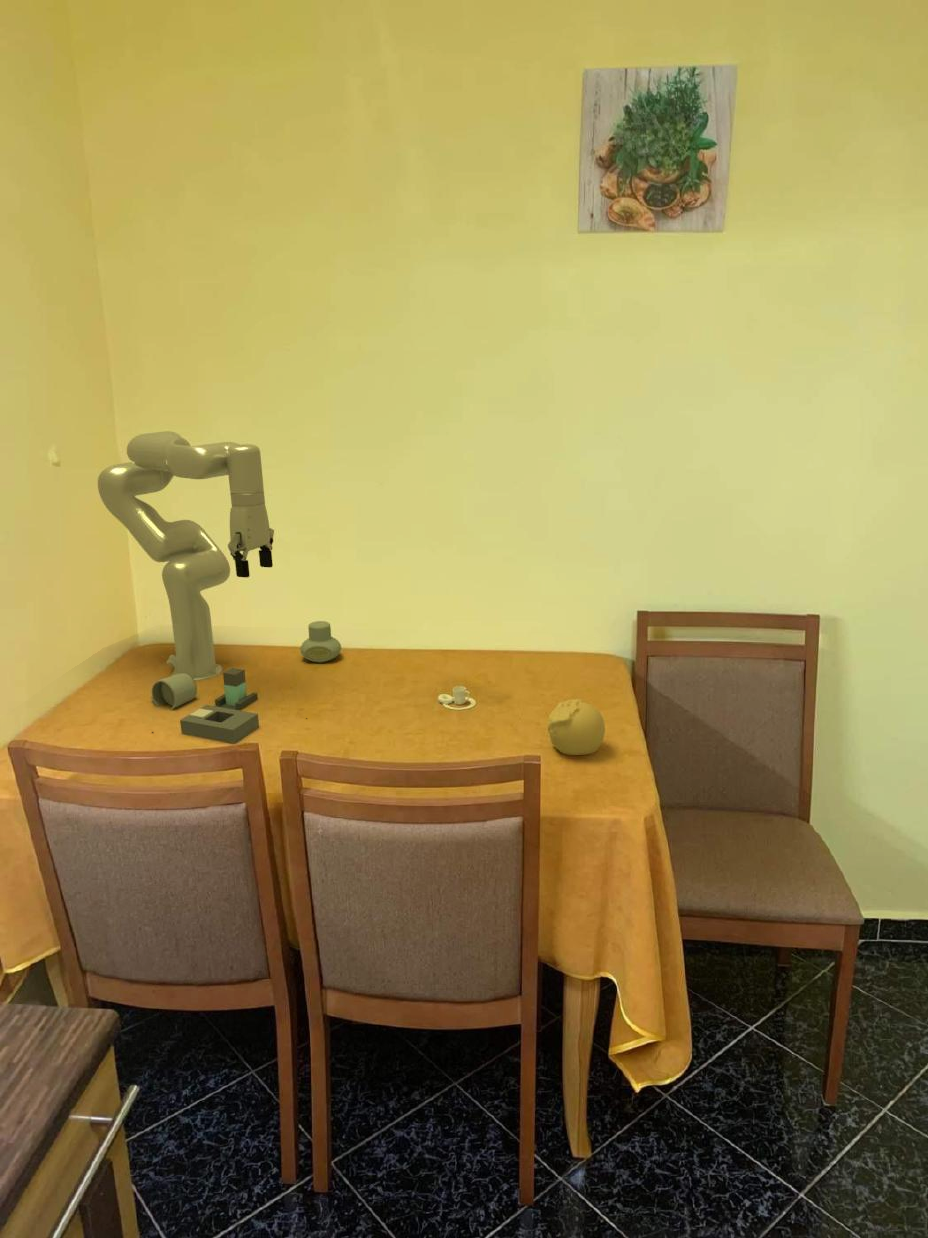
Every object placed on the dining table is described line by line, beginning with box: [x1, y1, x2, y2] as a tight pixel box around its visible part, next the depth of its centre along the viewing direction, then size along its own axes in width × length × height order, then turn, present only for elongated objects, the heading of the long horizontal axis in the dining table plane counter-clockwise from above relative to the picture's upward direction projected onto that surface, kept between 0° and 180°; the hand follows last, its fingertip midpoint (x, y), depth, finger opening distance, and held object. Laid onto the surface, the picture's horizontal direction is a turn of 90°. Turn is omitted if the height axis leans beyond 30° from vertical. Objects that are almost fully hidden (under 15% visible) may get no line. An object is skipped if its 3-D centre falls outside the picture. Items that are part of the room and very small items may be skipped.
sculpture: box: [547, 698, 606, 756], centre depth 181 cm, size 12×12×11 cm
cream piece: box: [437, 685, 477, 711], centre depth 207 cm, size 9×8×4 cm
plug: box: [222, 667, 248, 706], centre depth 205 cm, size 4×4×8 cm
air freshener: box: [300, 620, 342, 664], centre depth 235 cm, size 11×8×10 cm
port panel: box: [179, 704, 260, 745], centre depth 191 cm, size 14×9×4 cm, turn 68°
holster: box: [214, 692, 259, 711], centre depth 206 cm, size 7×7×2 cm
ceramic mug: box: [150, 673, 198, 710], centre depth 207 cm, size 11×8×8 cm
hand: (255, 571), depth 204 cm, fingers open, 9 cm apart
